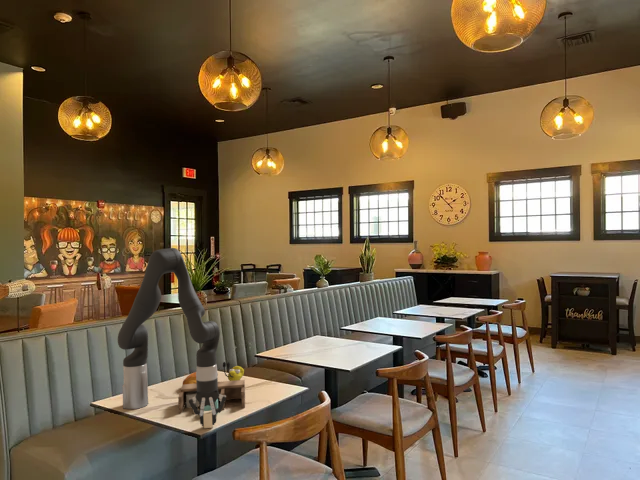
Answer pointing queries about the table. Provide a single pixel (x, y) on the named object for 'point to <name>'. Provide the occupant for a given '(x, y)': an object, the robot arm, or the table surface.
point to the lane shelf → (225, 388)
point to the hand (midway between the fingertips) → (208, 424)
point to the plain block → (191, 395)
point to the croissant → (190, 379)
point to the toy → (234, 372)
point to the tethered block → (208, 415)
